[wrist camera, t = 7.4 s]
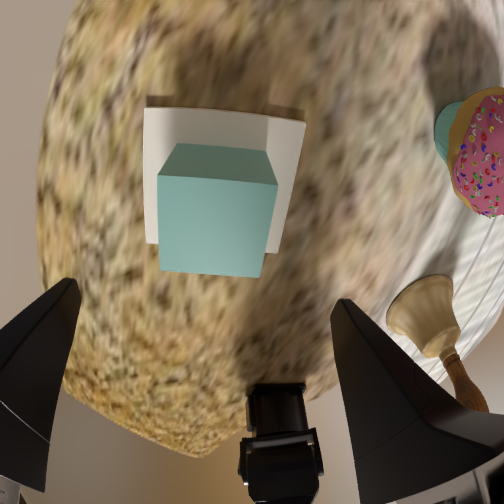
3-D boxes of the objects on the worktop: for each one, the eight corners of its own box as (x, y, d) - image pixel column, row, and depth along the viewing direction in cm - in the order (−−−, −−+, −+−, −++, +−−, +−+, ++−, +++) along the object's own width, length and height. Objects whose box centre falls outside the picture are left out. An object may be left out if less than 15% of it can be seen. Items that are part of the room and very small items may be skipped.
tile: (304, 121, 16) (306, 123, 15) (276, 248, 21) (277, 253, 20) (147, 106, 14) (144, 108, 14) (148, 238, 20) (146, 243, 19)
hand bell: (463, 270, 24) (541, 398, 11) (434, 325, 29) (486, 440, 16) (400, 277, 24) (478, 440, 11) (375, 336, 28) (422, 473, 16)
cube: (265, 151, 16) (278, 185, 12) (253, 226, 19) (259, 277, 15) (177, 143, 15) (157, 175, 11) (174, 219, 18) (159, 270, 14)
